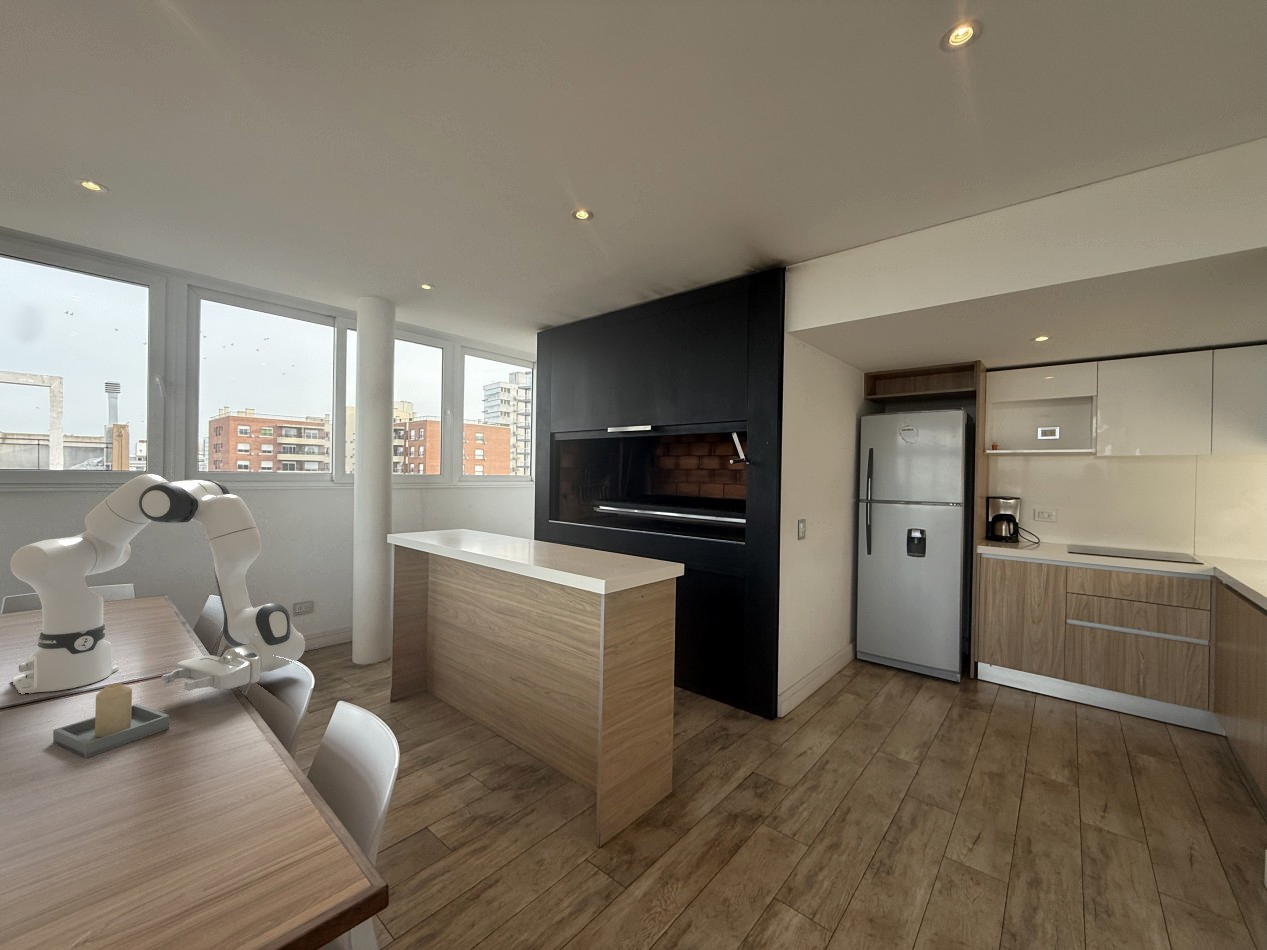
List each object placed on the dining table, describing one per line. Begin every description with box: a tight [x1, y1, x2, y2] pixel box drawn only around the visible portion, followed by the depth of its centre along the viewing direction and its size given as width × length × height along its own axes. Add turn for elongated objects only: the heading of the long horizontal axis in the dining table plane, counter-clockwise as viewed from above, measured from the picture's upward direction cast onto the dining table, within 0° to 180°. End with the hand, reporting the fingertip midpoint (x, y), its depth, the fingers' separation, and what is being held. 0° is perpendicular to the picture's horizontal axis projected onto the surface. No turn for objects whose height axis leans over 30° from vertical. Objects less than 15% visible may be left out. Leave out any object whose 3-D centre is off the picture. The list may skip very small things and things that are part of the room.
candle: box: [94, 683, 133, 738], centre depth 111 cm, size 6×6×10 cm
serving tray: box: [52, 703, 171, 759], centre depth 111 cm, size 14×14×3 cm
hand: (174, 683), depth 121 cm, fingers open, 8 cm apart
